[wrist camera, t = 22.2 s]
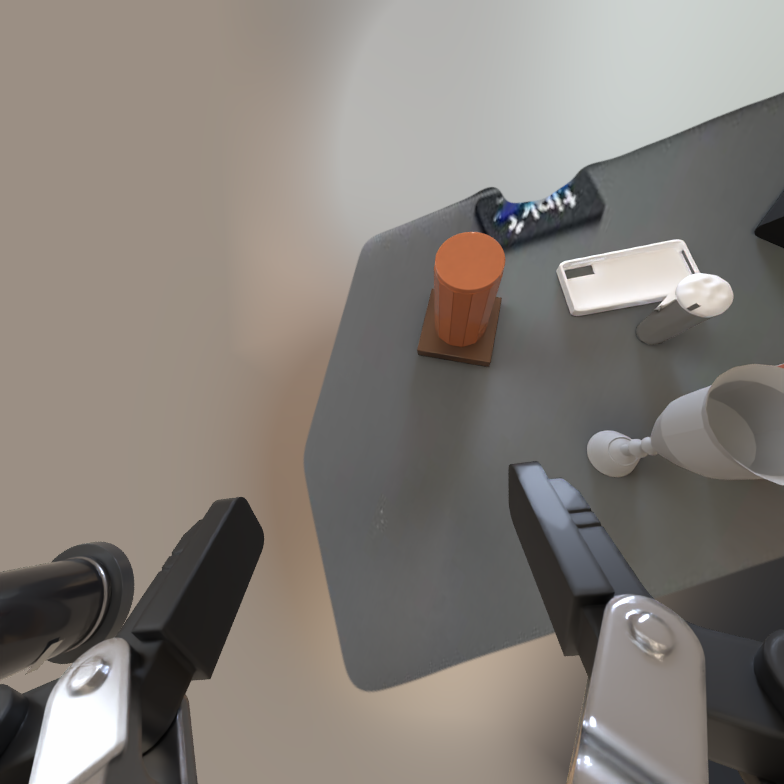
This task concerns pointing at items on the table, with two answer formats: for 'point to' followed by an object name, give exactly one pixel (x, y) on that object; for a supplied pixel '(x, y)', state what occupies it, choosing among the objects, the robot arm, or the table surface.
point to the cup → (466, 286)
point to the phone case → (626, 277)
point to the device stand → (773, 224)
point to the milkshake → (686, 308)
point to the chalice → (711, 430)
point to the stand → (468, 354)
